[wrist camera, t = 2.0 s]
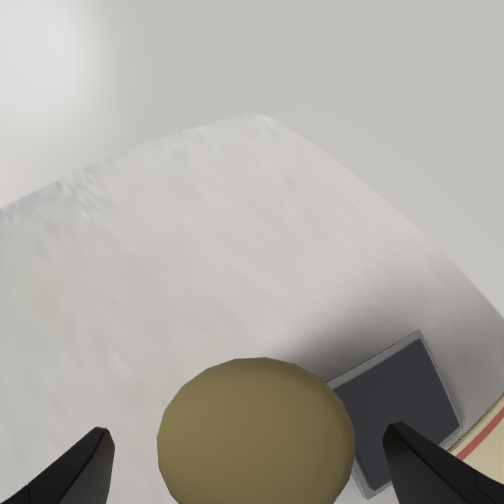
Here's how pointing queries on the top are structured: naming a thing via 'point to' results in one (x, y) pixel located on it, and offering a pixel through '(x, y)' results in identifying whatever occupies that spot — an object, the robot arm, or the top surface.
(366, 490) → the ink pad
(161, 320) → the top surface
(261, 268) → the top surface
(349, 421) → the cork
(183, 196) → the top surface
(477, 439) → the print card
